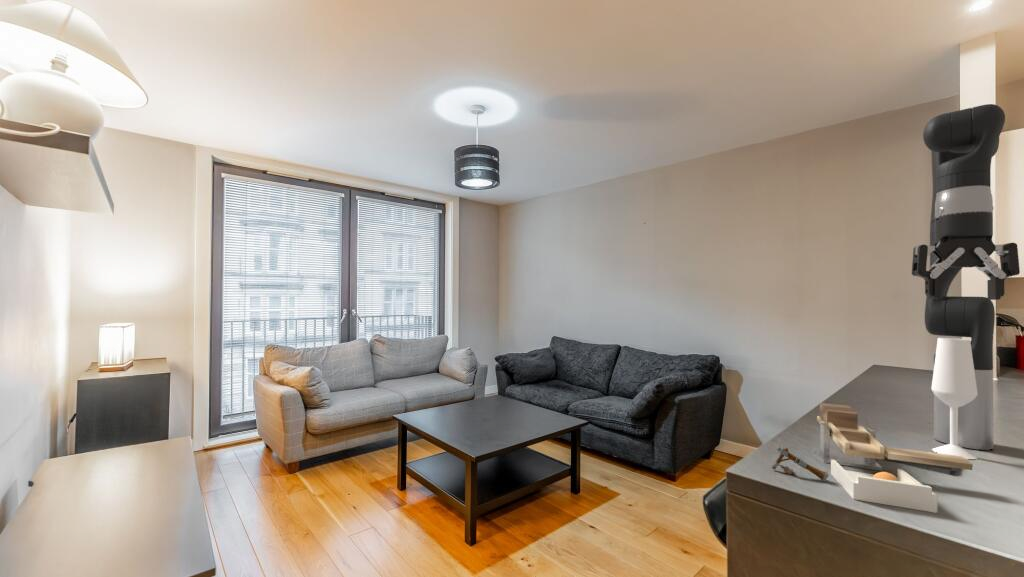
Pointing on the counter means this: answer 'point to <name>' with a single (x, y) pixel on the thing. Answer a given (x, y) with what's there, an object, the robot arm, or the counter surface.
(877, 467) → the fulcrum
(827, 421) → the lever
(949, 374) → the champagne flute
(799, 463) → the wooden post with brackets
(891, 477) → the ball
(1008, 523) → the counter surface
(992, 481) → the counter surface
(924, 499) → the tray
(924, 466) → the phone
